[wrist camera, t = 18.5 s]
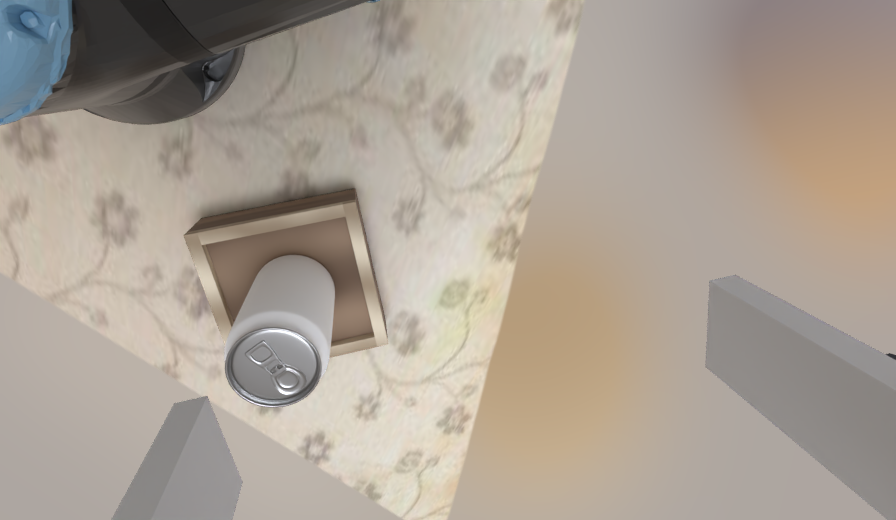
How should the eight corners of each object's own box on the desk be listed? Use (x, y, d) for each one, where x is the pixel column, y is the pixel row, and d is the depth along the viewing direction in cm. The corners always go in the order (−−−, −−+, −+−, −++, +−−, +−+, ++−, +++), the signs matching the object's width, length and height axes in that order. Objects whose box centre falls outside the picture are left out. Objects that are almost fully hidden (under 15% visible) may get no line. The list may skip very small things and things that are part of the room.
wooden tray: (201, 218, 42) (183, 235, 38) (355, 188, 43) (355, 202, 39) (248, 349, 47) (237, 378, 42) (385, 319, 48) (388, 344, 44)
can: (290, 338, 43) (268, 431, 32) (236, 283, 40) (192, 364, 29) (351, 295, 42) (350, 373, 31) (300, 237, 40) (279, 300, 29)
